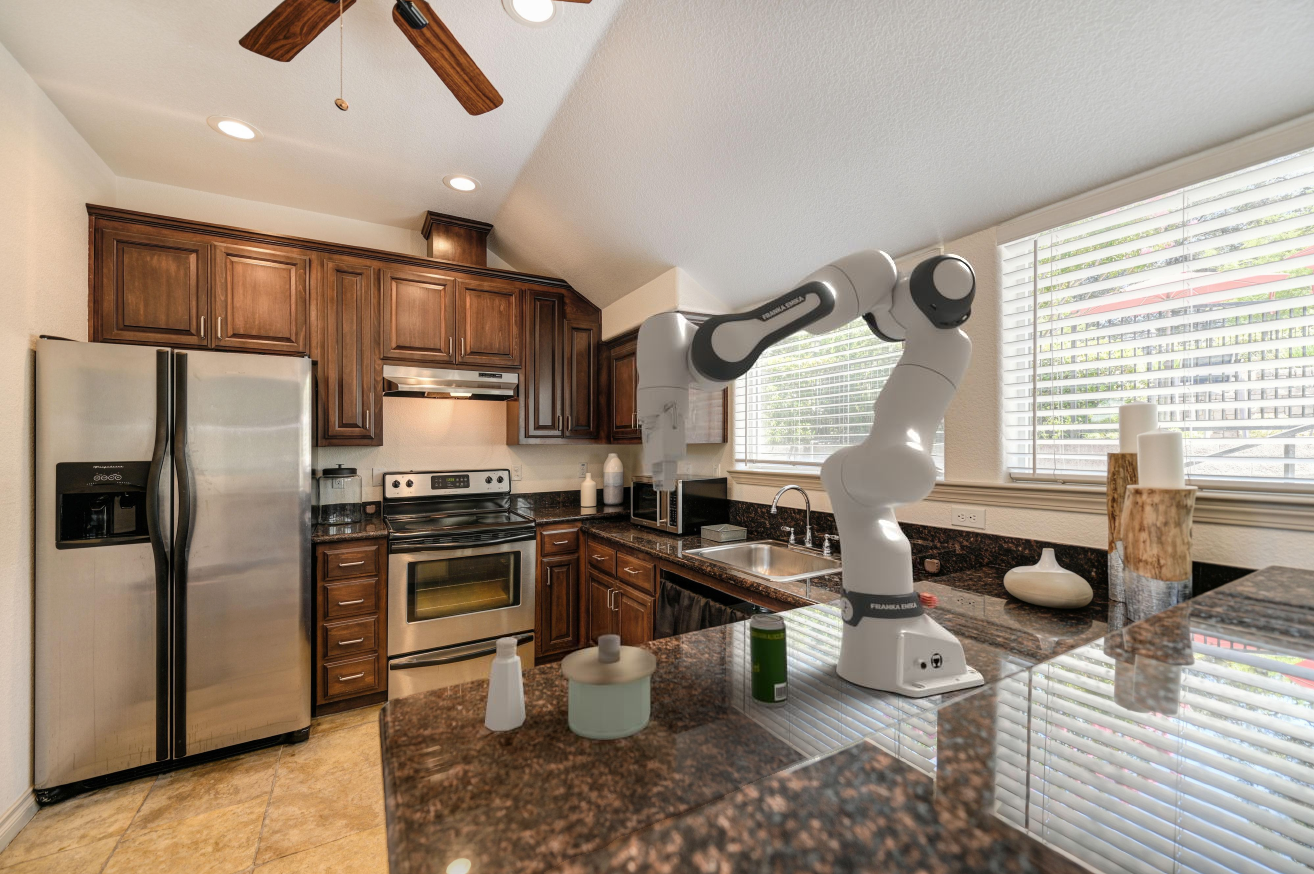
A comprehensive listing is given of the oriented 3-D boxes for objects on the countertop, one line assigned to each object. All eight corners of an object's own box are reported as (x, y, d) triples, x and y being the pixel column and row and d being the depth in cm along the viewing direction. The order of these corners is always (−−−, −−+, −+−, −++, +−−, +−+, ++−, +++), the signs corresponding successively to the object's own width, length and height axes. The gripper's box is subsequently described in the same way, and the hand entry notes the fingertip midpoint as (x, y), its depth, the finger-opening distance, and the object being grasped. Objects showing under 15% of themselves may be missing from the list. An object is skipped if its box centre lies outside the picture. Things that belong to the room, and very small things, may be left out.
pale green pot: (643, 700, 78) (642, 652, 78) (655, 735, 67) (654, 678, 68) (568, 706, 76) (568, 657, 77) (568, 743, 65) (568, 685, 66)
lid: (648, 649, 80) (648, 622, 80) (663, 681, 67) (663, 648, 67) (562, 655, 77) (562, 627, 78) (560, 688, 65) (560, 655, 65)
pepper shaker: (509, 734, 68) (510, 647, 69) (475, 728, 70) (477, 642, 71) (533, 717, 73) (534, 635, 74) (501, 711, 75) (503, 632, 76)
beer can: (796, 701, 77) (793, 618, 78) (772, 711, 74) (770, 624, 75) (767, 690, 81) (764, 611, 82) (743, 699, 78) (741, 617, 79)
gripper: (695, 398, 78) (697, 491, 77) (670, 416, 99) (670, 490, 97) (654, 398, 77) (655, 491, 76) (636, 416, 98) (637, 490, 96)
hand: (663, 490), depth 87 cm, fingers open, 8 cm apart
